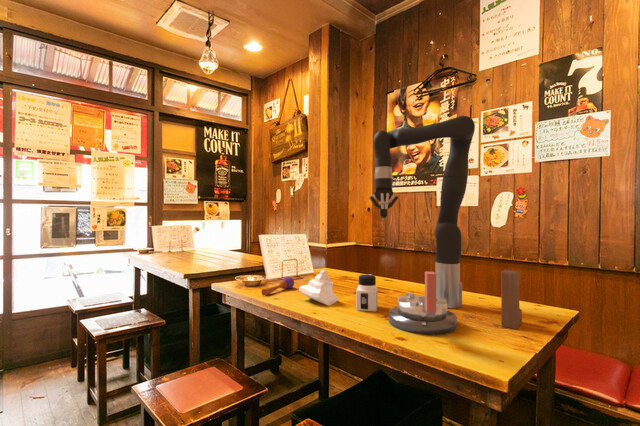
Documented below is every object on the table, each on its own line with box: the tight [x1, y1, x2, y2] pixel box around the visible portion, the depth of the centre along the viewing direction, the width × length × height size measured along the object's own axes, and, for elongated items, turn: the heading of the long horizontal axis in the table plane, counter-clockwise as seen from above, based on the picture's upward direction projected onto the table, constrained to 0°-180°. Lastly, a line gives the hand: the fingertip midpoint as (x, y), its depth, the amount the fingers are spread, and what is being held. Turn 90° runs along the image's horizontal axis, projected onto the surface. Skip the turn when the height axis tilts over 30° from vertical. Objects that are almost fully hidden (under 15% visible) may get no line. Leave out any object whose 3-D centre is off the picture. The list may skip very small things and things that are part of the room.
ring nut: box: [397, 271, 448, 321], centre depth 108 cm, size 26×16×16 cm, turn 172°
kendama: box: [261, 276, 295, 297], centre depth 158 cm, size 6×6×20 cm
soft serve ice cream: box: [298, 269, 339, 306], centre depth 140 cm, size 12×15×14 cm
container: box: [355, 273, 379, 312], centre depth 130 cm, size 8×8×13 cm
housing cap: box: [388, 305, 458, 336], centre depth 112 cm, size 22×22×3 cm
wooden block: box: [500, 269, 523, 330], centre depth 111 cm, size 9×4×18 cm, turn 140°
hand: (383, 217), depth 145 cm, fingers closed
